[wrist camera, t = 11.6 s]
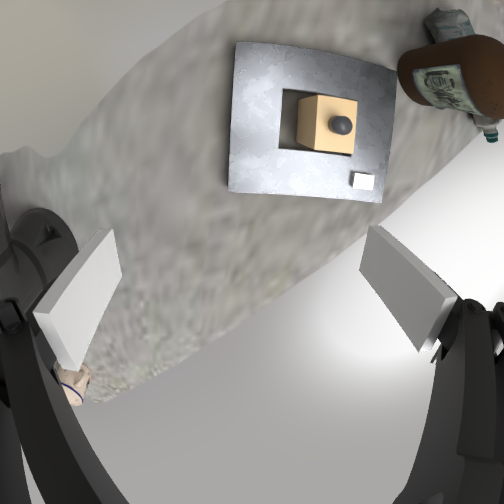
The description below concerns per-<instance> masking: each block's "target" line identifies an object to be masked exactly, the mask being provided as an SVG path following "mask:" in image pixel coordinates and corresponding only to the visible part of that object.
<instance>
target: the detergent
mask: <svg viewBox="0 0 504 504" xmlns="http://www.w3.org/2000/svg"><path fill="white" fill-rule="evenodd" d="M425 22H426V26H427V27H428V29H429V30H430V32H431V34H432V36H433V38H434V40H435V42H436V43H440V42H444V41H448V40H452V39H455V38H459V37H464V36H468V35H474V34H475V33H474V30H473V28H472V25H471V23H470V20H469V18H468V16H467V14H466V13H465V12H464V11H462V10H460V9H458V10H451V11H445V12H443V11H440V10H439V8H437V9H436V10H435V11H433V12H432V13H431V14H430V15H429V16H428V18H427V19H426V21H425ZM472 114H473V113H472ZM473 117H474V124H475V125H476V126H478V127H482V128H483V129H484V130H483V132H484V136H485V137H486V139H487V141H488V142H489V143H494V142H496V141H498V138H497V136H498V131H497V129H496V126H497V125H498V124H499V123H500V122H501V121H502V119H493V118H489V117H485V116H481V115H477V114H473Z"/></svg>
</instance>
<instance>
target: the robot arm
mask: <svg viewBox="0 0 504 504" xmlns="http://www.w3.org/2000/svg"><path fill="white" fill-rule="evenodd" d="M0 185H1V181H0ZM359 271H360V272H361V273H362V275H363V276H364V277H365V278H366V280H367V281H368V282H369V284H370V285H371V286H372V288H373V289H374V290H375V291H376V293H377V294H378V295H379V297H380V298H381V299H382V301H383V302H384V304H385V305H386V306H387V308H388V309H389V311H390V312H391V313H392V315H393V316H394V317H395V319H396V320H397V322H398V323H399V325H400V326H401V327H402V329H403V330H404V332H405V333H406V335H407V336H408V337H409V339H410V340H411V342H412V343H413V345H414V346H415V348H416V349H417V351H418V352H422V351H426V350H430V349H432V347H433V345H434V343H435V342H436V340H437V338H438V339H439V341H440V342H441V345H440V346H439V348H438V350H437V352H436V353H435V355H434V356H433V358H432V360H431V363H433V362H434V360H435V359H437V362H436V369H435V376H434V383H433V389H432V394H431V400H430V405H429V410H428V414H427V419H426V423H425V427H424V431H423V435H422V438H421V442H420V445H419V449H418V452H417V456H416V459H415V462H414V465H413V468H412V471H411V473H410V476H409V479H408V482H407V484H406V486H405V488H404V489H403V491H402V492H401V493H400V494H399V495H398V497H397V498H396V499H395V501H394V502H393V504H504V348H503V350H502V351H501V352H500V354H499V355H498V356H497V354H496V351H497V349H498V348H499V346H500V345H501V343H502V342H503V344H504V303H503V302H498V303H496V305H495V307H494V309H493V311H486V309H485V308H484V306H483V305H482V304H480V303H479V302H478V301H475V300H473V299H465V300H462V298H461V297H460V296H459V295H458V294H457V293H456V292H455V291H454V290H453V289H452V288H451V287H450V286H449V285H447V284H446V282H445V281H443V280H441V278H440V277H439V276H438V275H437V274H436V273H435V272H434V271H432V270H431V269H430V268H429V267H427V265H425V264H424V263H423V262H422V261H421V260H420V259H419V258H418V257H417V256H415V255H414V254H413V253H412V252H411V251H410V250H409V249H408V248H406V247H405V246H404V245H403V244H402V243H401V242H400V241H398V240H397V239H396V238H395V237H394V236H392V235H391V234H390V233H389V232H388V231H386V230H385V229H384V228H383V227H382V226H374V225H369V228H368V233H367V238H366V243H365V247H364V252H363V256H362V260H361V264H360V269H359ZM121 277H122V273H121V268H120V264H119V259H118V254H117V249H116V244H115V238H114V233H113V228H107V229H99V230H98V231H97V232H96V233H95V234H94V236H93V237H92V238H91V239H90V240H89V241H88V242H87V243H86V244H85V246H84V247H83V248H82V249H81V250H80V251H79V252H78V247H77V244H76V241H75V239H74V236H73V234H72V233H71V231H70V229H69V228H68V226H67V225H66V224H65V222H64V221H63V220H62V219H61V218H60V217H59V216H57V215H56V214H54V213H53V212H51V211H49V210H46V209H41V208H37V209H33V210H30V211H29V212H27V213H26V214H24V215H23V216H21V217H20V218H19V219H18V221H17V222H16V224H15V226H14V227H13V229H12V230H11V232H10V234H9V230H8V226H7V221H6V217H5V212H4V206H3V200H2V194H1V187H0V504H31V500H30V495H29V491H28V487H27V483H26V477H25V472H24V466H23V459H22V452H21V446H22V449H23V452H24V455H25V457H26V460H27V463H28V465H29V468H30V470H31V473H32V475H33V478H34V480H35V482H36V485H37V487H38V489H39V491H40V493H41V495H42V498H43V500H44V502H45V504H129V503H128V502H127V500H126V499H125V497H124V496H123V495H122V493H121V492H120V491H119V489H118V488H117V486H116V485H115V484H114V482H113V481H112V479H111V478H110V476H109V475H108V473H107V472H106V470H105V469H104V467H103V466H102V464H101V462H100V461H99V459H98V457H97V456H96V454H95V452H94V451H93V449H92V447H91V445H90V443H89V442H88V440H87V438H86V436H85V434H84V432H83V431H82V429H81V426H80V424H79V423H78V420H77V418H76V416H75V414H74V412H73V410H72V408H71V406H70V403H69V401H68V399H67V396H66V394H65V392H64V389H63V387H62V384H61V382H60V379H59V376H58V374H57V371H56V370H55V368H54V366H53V365H54V363H55V361H56V359H57V360H58V362H59V363H60V365H61V367H62V368H63V369H66V370H71V371H77V372H79V370H80V367H81V365H82V362H83V360H84V357H85V355H86V352H87V350H88V347H89V345H90V343H91V340H92V338H93V336H94V333H95V331H96V329H97V327H98V324H99V322H100V320H101V318H102V316H103V314H104V311H105V309H106V307H107V305H108V303H109V301H110V299H111V297H112V295H113V293H114V291H115V289H116V287H117V285H118V283H119V281H120V279H121Z"/></svg>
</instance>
